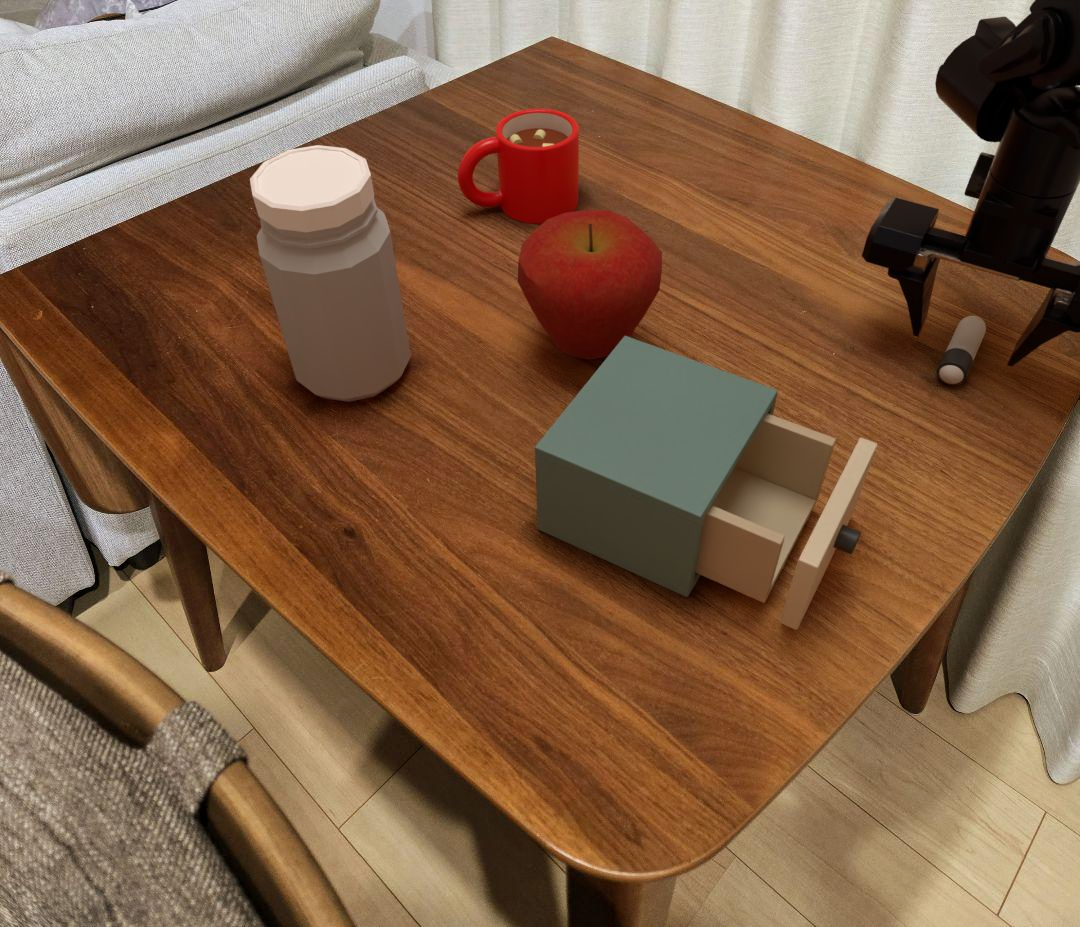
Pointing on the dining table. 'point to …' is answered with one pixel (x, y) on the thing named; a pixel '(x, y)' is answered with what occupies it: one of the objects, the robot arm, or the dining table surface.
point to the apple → (589, 279)
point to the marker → (961, 351)
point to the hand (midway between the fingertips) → (963, 348)
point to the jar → (331, 271)
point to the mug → (528, 166)
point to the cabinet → (645, 459)
